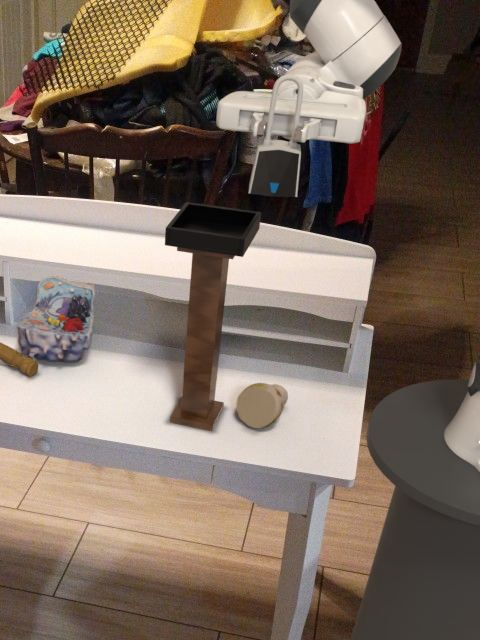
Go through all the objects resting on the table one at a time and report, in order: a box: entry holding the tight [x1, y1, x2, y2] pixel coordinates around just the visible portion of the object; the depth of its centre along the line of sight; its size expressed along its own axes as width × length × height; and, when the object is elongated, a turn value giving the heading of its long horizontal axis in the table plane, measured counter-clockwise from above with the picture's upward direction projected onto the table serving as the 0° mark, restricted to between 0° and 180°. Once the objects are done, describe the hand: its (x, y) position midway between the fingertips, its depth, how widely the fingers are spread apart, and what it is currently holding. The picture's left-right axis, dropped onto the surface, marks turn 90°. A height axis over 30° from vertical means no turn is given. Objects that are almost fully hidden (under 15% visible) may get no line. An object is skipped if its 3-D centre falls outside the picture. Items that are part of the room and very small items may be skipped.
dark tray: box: [164, 201, 262, 258], centre depth 118 cm, size 11×10×2 cm
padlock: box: [248, 74, 303, 198], centre depth 114 cm, size 7×4×15 cm, turn 81°
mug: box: [236, 382, 289, 429], centre depth 136 cm, size 8×10×10 cm
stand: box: [169, 247, 236, 432], centre depth 129 cm, size 8×8×30 cm
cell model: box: [16, 275, 96, 363], centre depth 152 cm, size 13×11×20 cm
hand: (279, 133), depth 113 cm, fingers closed on padlock, 4 cm apart
